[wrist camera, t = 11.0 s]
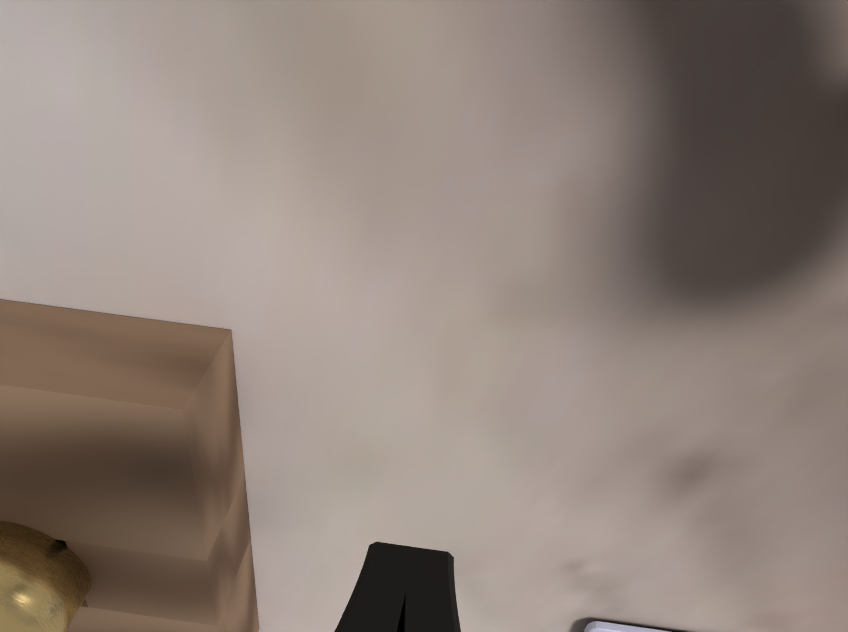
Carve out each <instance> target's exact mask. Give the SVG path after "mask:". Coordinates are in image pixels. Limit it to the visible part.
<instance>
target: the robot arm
mask: <svg viewBox="0 0 848 632" xmlns="http://www.w3.org/2000/svg"><path fill="white" fill-rule="evenodd" d="M335 632H461V629H460V623H459V617H458V610H457V602H456V593H455V582H454V557H453V556H452V555H451V554H450V553H449V552H445V551H438V550H430V549H423V548H416V547H409V546H402V545H395V544H388V543H381V542H375V543H373V544H371V545H369V548H368V552H367V555H366V559H365V562H364V565H363V567H362V570H361V573H360V575H359V578H358V581H357V583H356V586H355V588H354V591H353V593H352V595H351V598H350V600H349V602H348V604H347V606H346V609H345V611H344V613H343V615H342V617H341V620H340V622H339V624H338V626H337V628H336V630H335ZM584 632H670V631H663V630H656V629H650V628H643V627H636V626H629V625H622V624H615V623H608V622H601V621H594V622H591V623H589V624H588V625H587V626H586V628H585V630H584Z"/></svg>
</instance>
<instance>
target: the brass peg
mask: <svg viewBox="0 0 848 632" xmlns="http://www.w3.org/2000/svg"><path fill="white" fill-rule="evenodd" d="M90 589H91V577H90V574H89V572H88V570H87V568H86V566H85V565H84V564H83V562H82V561H81V560H80V559H79V558H78V557H77V555H76V554H75V553H73V552H72V551H71V550H70V549H69V548H68V547H67V545H66V542H65V541H63V540H56V539H54V538H52V537H50V536H48V535H46V534H44V533H42V532H40V531H38V530H35V529H33V528H30V527H27V526H24V525H20V524H16V523H12V522H7V521H0V632H66V631H67V629H68V627H69V626H70V624H71V622H72V621H73V619H74V617H75V616H76V614H77V612H78V610H79V609H80V607H81V605H82V604H83V602H84V600H85V598H86V597H87V595H88V593H89V592H90Z"/></svg>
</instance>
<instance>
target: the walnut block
mask: <svg viewBox="0 0 848 632" xmlns="http://www.w3.org/2000/svg"><path fill="white" fill-rule="evenodd" d="M0 521H7V522H12V523H16V524H20V525H24V526H27V527H30V528H33V529H35V530H38V531H40V532H42V533H44V534H46V535H48V536H50V537H52V538H54V539H56V540H63V541H65V542H66V545H67V547H68V548H69V549H70V550H71V551H72V552H73V553H75V554H76V555H77V557H78V558H79V559H80V560H81V561H82V562H83V564H84V565H85V566H86V568H87V570H88V572H89V574H90V577H91V589H90V592H89V593H88V595H87V597H86V598H85V600H84V602H83V604H82V605H81V607H80V609H79V610H78V612H77V614H76V616H75V617H74V619H73V621H72V622H71V624H70V626H69V627H68V629H67V631H66V632H258V631H259V622H258V611H257V600H256V590H255V579H254V568H253V558H252V547H251V536H250V525H249V515H248V504H247V493H246V483H245V472H244V461H243V450H242V440H241V429H240V418H239V408H238V397H237V386H236V375H235V365H234V354H233V343H232V332H231V330H227V329H220V328H212V327H205V326H197V325H189V324H182V323H174V322H167V321H159V320H152V319H144V318H137V317H129V316H121V315H114V314H106V313H99V312H91V311H84V310H76V309H69V308H61V307H53V306H46V305H38V304H31V303H23V302H16V301H8V300H1V299H0Z"/></svg>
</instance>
